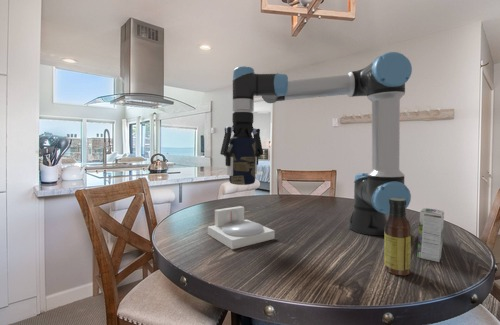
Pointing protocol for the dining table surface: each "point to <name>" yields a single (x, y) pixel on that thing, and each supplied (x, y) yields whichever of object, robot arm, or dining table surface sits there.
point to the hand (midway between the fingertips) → (242, 174)
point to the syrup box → (430, 234)
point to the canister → (243, 161)
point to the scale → (237, 229)
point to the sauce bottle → (397, 239)
